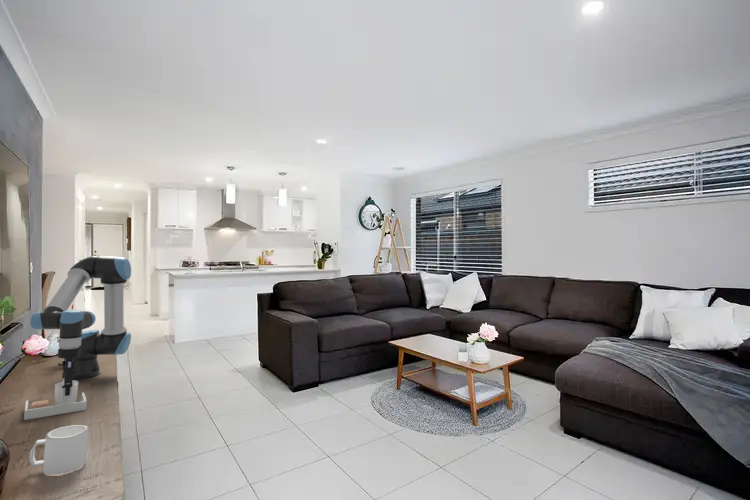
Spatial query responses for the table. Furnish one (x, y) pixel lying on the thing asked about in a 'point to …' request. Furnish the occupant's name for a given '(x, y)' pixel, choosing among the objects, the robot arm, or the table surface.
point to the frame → (55, 409)
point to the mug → (62, 449)
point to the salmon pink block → (39, 404)
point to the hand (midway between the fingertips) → (65, 398)
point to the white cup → (59, 392)
